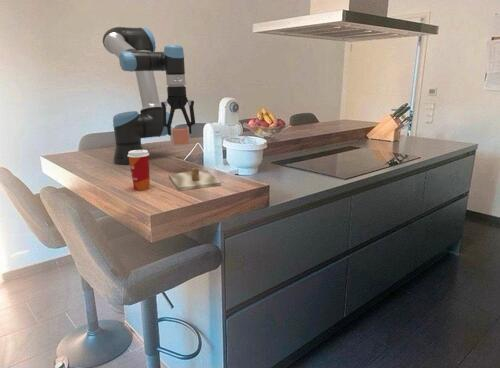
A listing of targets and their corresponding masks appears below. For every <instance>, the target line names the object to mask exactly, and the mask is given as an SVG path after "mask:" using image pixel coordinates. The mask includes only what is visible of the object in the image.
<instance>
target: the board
mask: <svg viewBox="0 0 500 368" xmlns="http://www.w3.org/2000/svg"><path fill="white" fill-rule="evenodd" d="M168 178H169V180H170V181H171V182H172V183H173V185H174V186H175V188H176V189H177V190H178V192H180V191H187V190H197V189H204V188H209V187H210V188H211V187H218V186H219V187H220V186H222V182H221V181H220V180H219V179H218V178H216V177H215V176H214V175H213V174H212V173H211V172H209V171H208V169H206V170H205V169H204V170H200V169H199V167H192V168H190V171H188V172H186V171H185V172H179V173H169V174H168Z"/></svg>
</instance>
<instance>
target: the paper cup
mask: <svg viewBox="0 0 500 368" xmlns="http://www.w3.org/2000/svg"><path fill="white" fill-rule="evenodd" d="M149 156H150V153H149V151H148V150H147V149H143V151H142V150H132V151H129V152H128V157H129V162H130V164H129V166H130V167H129V168H130V173H131V179H132V184H133V189H134V190H135V191H145V190H149V189H150V187H151V186H150V185H151V183H150V182H151V181H150V180H151V179H150V160H149Z"/></svg>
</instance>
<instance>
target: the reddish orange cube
mask: <svg viewBox="0 0 500 368" xmlns="http://www.w3.org/2000/svg"><path fill="white" fill-rule="evenodd" d="M172 128H173V127H172ZM173 139H174V143H173V145H175V146H177V145H186V144H190V142H189V139H190V135H189V136H188V129H187V128H186V127H174V128H173Z"/></svg>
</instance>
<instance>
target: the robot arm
mask: <svg viewBox="0 0 500 368" xmlns="http://www.w3.org/2000/svg"><path fill="white" fill-rule="evenodd" d="M102 44H103V47H104V48H105V50H106V51H107V52H108V53H110V54H113V55H115V56H116V57H117V58H118V60H119V66H120V68H121V70H122V71H124V72H131V73H132V72H135V76H136V77H135V78H136V81H137V82H136V83H137V87H138V91H139V96H140V103H141V106H142V107H141V109H140V110H139V112H138V111H136V110H132V111H131V110H130V111H126V112H121V113H117V114H115V115H113V117H112V122H113V124H112V126H113V132H114V140H115V149H114V150H115V151H114V154H113V163H114V164H116V165H130V162H129V157H128V152H129V151H132V150H142V151H143V150H144V148H143V145H142V139H147V138H156V137H157V138H158V137H159V138H160V137H165V136H167V135H168V136H170V143H171V144H173V143H174V139H173V127H172V123H173V119H174V114H175V111H176V110H181V112H182V115H183V118H184V120H185V122H186V125H185V128H187V129H188V136H189V137H190V135H191V134H192V126H194V125H196V116H195V110H194V105H195V101H194V100H192V99H191V100H189V99H188V97H187V87H186V86H185V85H186V71H185V53H184V47H183V46H182V45H178V44H174V45H173V44H172V45H171V44H169V45H167V44H166V45H165V46H164V47H163V51H156V48H157V47H156V40H155V37H154V34H153V33H152V31H151V30H150V29H149V28H143V27H124V26H116V27H112V28H110V29H107V31H106V32H105V33H104V35H103V37H102ZM154 72H165V78H166V85H167V87H166V91H167V99H166V100H164V101H160V98H159V97H160V96H159V93H158V88H157V87H158V86H157V83H156V82H157V81H156V78H155V77H156V76H155V73H154ZM168 105H169V106H170V110H169V112H168V111H167V106H168ZM186 105H188V107H189V108H188V109H189V114H190V118H189V115H188V113H187V110H186ZM190 142H191V140H190V138H189V143H190ZM173 145H174V144H173Z"/></svg>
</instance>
